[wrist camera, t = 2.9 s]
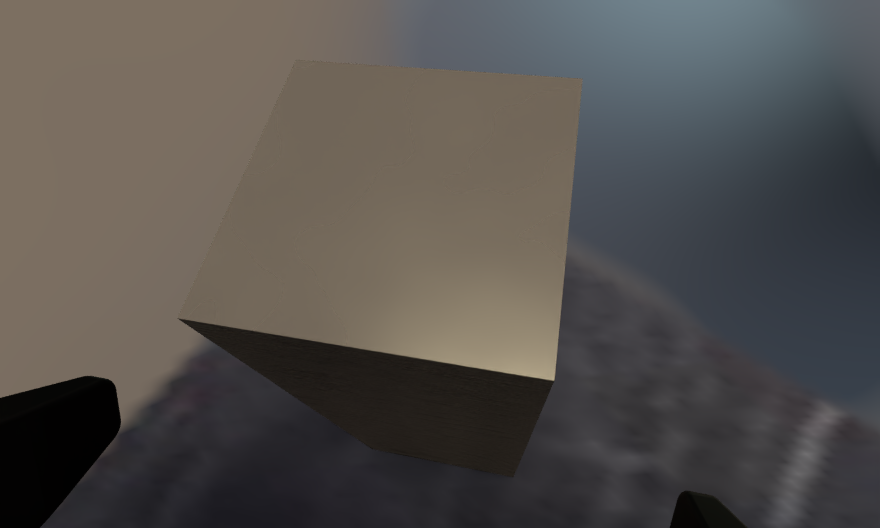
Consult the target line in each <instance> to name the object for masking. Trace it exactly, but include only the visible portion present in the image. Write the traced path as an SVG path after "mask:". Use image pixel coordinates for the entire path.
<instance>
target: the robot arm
mask: <svg viewBox="0 0 880 528" xmlns="http://www.w3.org/2000/svg"><path fill="white" fill-rule="evenodd" d="M120 425H121V418H120V411H119V405H118V398H117V392H116V387H115V385H114V383H113V382H112V381H110V380H109V379H105V378H99V377H94V376H83V377H79V378H75V379H72V380H68V381H64V382H60V383H56V384H52V385H49V386H45V387H41V388H37V389H33V390H29V391H25V392H21V393H18V394H14V395H9V396H6V397H2V398H0V528H40V527H41V526H42V525H43V524H44V523H45V522H46V521H47V519H48V518H49V517H50V516H51V515H52V514H53V512H54V511H55V510H56V509H57V508H58V507H59V505H60V504H61V503H62V502H63V501H64V499H65V498H66V497H67V496H68V494H69V493H70V492H71V491H72V490H73V488H74V487H75V486H76V485H77V483H78V482H79V481H80V480H81V478H82V477H83V476H84V475H85V474H86V472H87V471H88V470H89V469H90V467H91V466H92V465H93V464H94V463H95V461H96V460H97V459H98V458H99V456H100V455H101V454H102V453H103V452H104V450H105V449H106V448H107V447H108V445H109V444H110V443H111V442H112V441H113V439H114V438H115V437H116V435H117V433H118V431H119V429H120ZM670 528H747V527H746V526H745V525H744V524H743V523H742V522H741V521H740V520H739V519H738V518H737V517H736V516H735V515H734V514H733V513H732V512H731V511H730V510H729V509H728V508H727V507H725V506H724V505H723V504H722V503H721V502H720V501H719V500H718V499H717V498H715V497H714V496H711V495H707V494H702V493H697V492H691V491H684V492H682V493H681V494H680V495H679V497H678V499H677V503H676V507H675V510H674V514H673V517H672V521H671V525H670Z"/></svg>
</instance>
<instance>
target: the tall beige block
mask: <svg viewBox="0 0 880 528" xmlns="http://www.w3.org/2000/svg"><path fill="white" fill-rule="evenodd" d="M581 89H582V79H578V78H562V77H547V76H532V75H517V74H502V73H486V72H471V71H456V70H441V69H425V68H410V67H409V68H408V67H395V66H380V65H365V64H349V63H333V62H318V61H303V60H296V61H295V63H294V65H293V67H292V70H291V72H290V74H289V76H288V78H287V81H286V83H285V85H284V87H283V89H282V91H281V93H280V96H279V98H278V100H277V102H276V105H275V106H274V109H273V111H272V113H271V115H270V117H269V120H268V122H267V124H266V126H265V128H264V130H263V133H262V135H261V137H260V139H259V141H258V144H257V146H256V148H255V150H254V152H253V154H252V157H251V159H250V161H249V163H248V165H247V168H246V170H245V172H244V174H243V177H242V179H241V181H240V183H239V185H238V187H237V189H236V192H235V194H234V196H233V198H232V200H231V202H230V205H229V207H228V209H227V211H226V214H225V215H224V218H223V220H222V222H221V224H220V226H219V229H218V231H217V233H216V235H215V237H214V240H213V242H212V244H211V246H210V248H209V250H208V253H207V255H206V257H205V259H204V261H203V264H202V266H201V268H200V270H199V272H198V274H197V277H196V279H195V281H194V283H193V286H192V287H191V290H190V292H189V294H188V296H187V298H186V300H185V303H184V305H183V307H182V309H181V311H180V314H179V316H178V319H179V320H181V321H182V322H184V323H185V324H187V325H188V326H190V327H191V328H193V329H194V330H196V331H197V332H198V333H200V334H201V335H203V336H204V337H206V338H207V339H209V340H210V341H212V342H213V343H215V344H216V345H218V346H219V347H221V348H222V349H224V350H225V351H227V352H228V353H230V354H231V355H233V356H234V357H236V358H237V359H239V360H240V361H242V362H243V363H245V364H246V365H248V366H249V367H251V368H252V369H254V370H255V371H257V372H258V373H260V374H261V375H263V376H264V377H266V378H267V379H268V380H270V381H271V382H273V383H274V384H276V385H277V386H279V387H280V388H282V389H283V390H285V391H286V392H288V393H289V394H291V395H292V396H294V397H295V398H297V399H298V400H300V401H301V402H303V403H304V404H306V405H307V406H309V407H310V408H312V409H313V410H315V411H316V412H318V413H319V414H321V415H322V416H324V417H325V418H327V419H328V420H330V421H331V422H333V423H334V424H336V425H337V426H339V427H340V428H341V429H343V430H344V431H346V432H347V433H349V434H350V435H352V436H353V437H355V438H356V439H358V440H359V441H361V442H362V443H364V444H365V445H367V446H368V447H370V448H371V449H375V450H380V451H385V452H390V453H395V454H400V455H405V456H410V457H415V458H420V459H425V460H430V461H435V462H440V463H445V464H450V465H455V466H460V467H465V468H470V469H475V470H480V471H485V472H490V473H495V474H500V475H505V476H510V477H514V475H515V472H516V470H517V468H518V465H519V463H520V460H521V458H522V456H523V453H524V451H525V449H526V446H527V444H528V442H529V439H530V437H531V435H532V432H533V430H534V427H535V425H536V423H537V420H538V418H539V416H540V413H541V411H542V409H543V406H544V404H545V402H546V399H547V397H548V394H549V392H550V390H551V387H552V385H553V383H554V378H555V368H556V357H557V346H558V336H559V325H560V314H561V303H562V293H563V282H564V271H565V261H566V250H567V239H568V228H569V218H570V207H571V196H572V186H573V175H574V164H575V153H576V142H577V131H578V121H579V111H580V100H581Z"/></svg>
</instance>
